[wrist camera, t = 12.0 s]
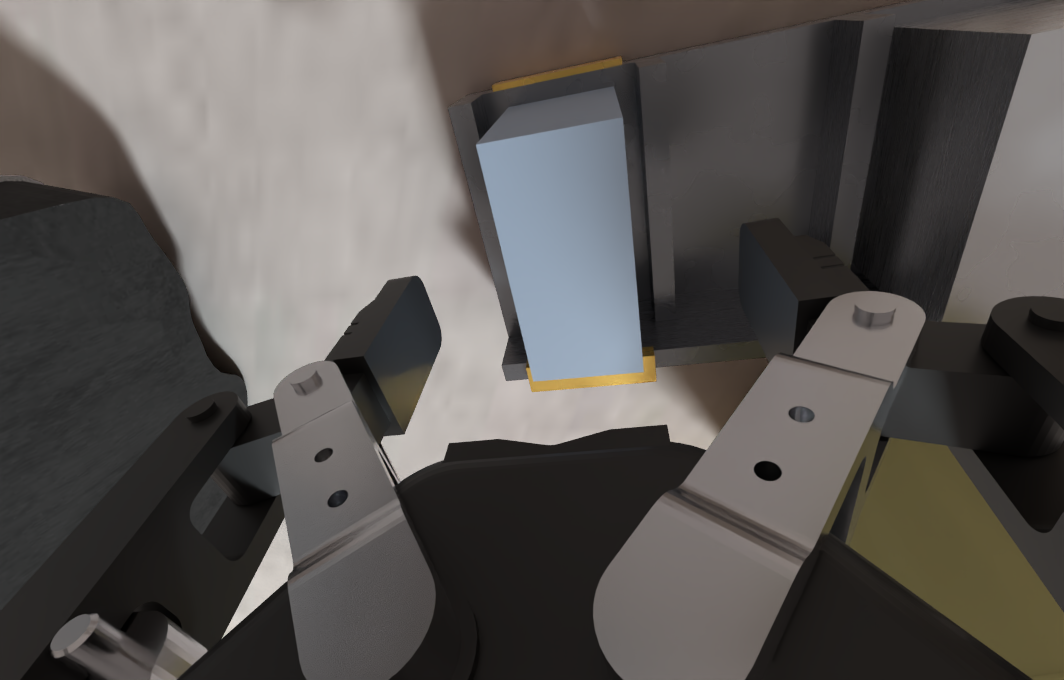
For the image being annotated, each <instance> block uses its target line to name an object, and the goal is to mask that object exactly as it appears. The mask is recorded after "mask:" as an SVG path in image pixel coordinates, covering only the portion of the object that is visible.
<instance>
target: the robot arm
mask: <svg viewBox="0 0 1064 680" xmlns="http://www.w3.org/2000/svg"><path fill="white" fill-rule="evenodd" d="M738 288H739V297H740V302H741V306H742V309H743V311H744V313H745V315H746V317H747V319H748V321H749V323H750V325H751V327H752V329H753V331H754V333H755V335H756V337H757V339H758V341H759V343H760V345H761V347H762V349H763V351H764V353H765V355H766V357H767V359H768V361H769V364H768V366H767V367H766V368H765V370H764V371H763V372H762V374H761V375H760V377H759V378H758V379H757V381H756V382H755V384H754V385H753V386H752V388H751V389H750V391H749V392H748V393H747V395H746V396H745V398H744V399H743V400H742V402H741V403H740V404H739V406H738V407H737V409H736V410H735V411H734V413H733V414H732V416H731V417H730V418H729V420H728V421H727V423H726V424H725V425H724V427H723V428H722V429H721V431H720V432H719V434H718V435H717V436H716V438H715V439H714V441H713V442H712V443H711V445H710V446H709V448H708V449H707V450H704V449H701V448H698V447H695V446H691V445H686V444H682V443H675V442H670V438H669V433H668V428H667V425H657V426H646V427H634V428H622V429H611V430H606V431H603V432H599V433H596V434H592V435H589V436H585V437H582V438H578V439H575V440H571V441H568V442H564V443H561V444H557V445H541V444H533V443H526V442H518V441H510V440H502V439H494V440H483V441H471V442H459V443H449V445H448V449H447V452H446V455H445V458H444V460H443V461H440V462H437V463H435V464H432V465H430V466H427V467H425V468H423V469H421V470H419V471H417V472H415V473H414V474H412V475H410V476H409V477H407V478H405V479H404V480H403V481H400V479H399V477H398V475H397V473H396V471H395V469H394V467H393V465H392V463H391V461H390V459H389V457H388V455H387V453H386V451H385V449H384V447H383V446H382V444H381V441H382V438H383V436H391V435H402V434H405V431H406V429H407V427H408V424H409V422H410V419H411V417H412V415H413V412H414V410H415V407H416V405H417V403H418V400H419V398H420V395H421V393H422V390H423V388H424V386H425V383H426V381H427V378H428V376H429V374H430V371H431V369H432V366H433V364H434V362H435V359H436V357H437V354H438V352H439V350H440V347H441V341H442V337H441V329H440V325H439V323H438V320H437V317H436V315H435V312H434V310H433V307H432V305H431V302H430V300H429V297H428V294H427V292H426V289H425V287H424V284H423V282H422V281H421V279H420V278H419V277H418V276H410V277H404V278H398V279H392V280H388V281H387V283H386V284H385V285H384V287H383V288H382V290H381V291H380V293H379V294H378V296H377V297H376V298H375V300H374V301H372V302H371V303H370V304H369V305H367V306H366V307H365V308H363V309H362V310H361V311H360V312H359V313H358V314H357V316H356V317H355V318H354V320H353V321H352V323H351V326H349V327H348V328H347V330H346V331H345V332H344V335H343V336H342V337H341V338H340V339H339V341H338V342H337V344H336V345H335V346H334V348H333V349H332V351H331V352H330V353H329V355H328V356H327V358H326V359H325V360H324V361H318V362H314V363H311V364H308V365H305V366H303V367H301V368H299V369H297V370H295V371H293V372H292V373H290V374H289V375H288V376H286V377H285V378H284V379H283V380H282V381H281V382H280V383H279V384H278V385H277V387H276V389H275V390H274V398H273V399H270V400H267V401H263V402H260V403H257V404H254V405H251V406H248V407H246V406H245V405H244V404H243V402H242V401H241V400H240V398H239V397H238V395H237V394H236V393H234V392H231V391H225V392H219V393H215V394H212V395H209V396H207V397H205V398H203V399H201V400H199V401H197V402H195V403H193V404H192V405H190V406H189V407H188V408H186V409H185V410H184V411H182V412H181V413H180V414H179V415H178V416H177V417H176V418H175V419H174V420H173V421H172V422H171V423H170V425H169V426H168V427H167V428H166V429H165V430H164V431H163V432H162V433H161V434H160V436H159V437H158V438H157V439H156V440H155V441H154V442H153V443H152V444H151V445H150V447H149V448H148V449H147V450H146V451H145V452H144V453H143V454H142V455H141V456H140V458H139V459H138V460H137V461H136V462H135V463H134V464H133V465H132V466H131V468H130V469H129V470H128V471H127V472H126V473H125V474H124V475H123V476H122V477H121V479H120V480H119V481H118V482H117V483H116V484H115V485H114V486H113V487H112V488H111V490H110V491H109V492H108V493H107V494H106V495H105V496H104V497H103V498H102V499H101V501H100V502H99V503H98V504H97V505H96V506H95V507H94V508H93V509H92V510H91V512H90V513H89V514H88V515H87V516H86V517H85V518H84V519H83V520H82V521H81V523H80V524H79V525H78V526H77V527H76V528H75V529H74V530H73V531H72V532H71V534H70V535H69V536H68V537H67V538H66V539H65V540H64V541H63V542H62V543H61V545H60V546H59V547H58V548H57V549H56V550H55V551H54V552H53V553H52V555H51V556H50V557H49V558H48V559H47V560H46V561H45V562H44V563H43V564H42V566H41V567H40V568H39V569H38V570H37V571H36V572H35V573H34V574H33V575H32V577H31V578H30V579H29V580H28V581H27V582H26V583H25V584H24V585H23V586H22V588H21V589H20V590H19V591H18V592H17V593H16V594H15V595H14V596H13V597H12V599H11V600H10V601H9V602H8V603H7V604H6V605H5V606H4V607H3V608H2V610H1V611H0V680H1033V679H1031V678H1030V677H1029V676H1027V675H1026V674H1025V673H1023V672H1022V671H1020V670H1019V669H1018V668H1016V667H1015V666H1014V665H1012V664H1011V663H1009V662H1008V661H1007V660H1005V659H1004V658H1003V657H1001V656H1000V655H998V654H997V653H996V652H994V651H993V650H991V649H990V648H989V647H987V646H986V645H985V644H983V643H982V642H980V641H979V640H978V639H976V638H975V637H974V636H972V635H971V634H969V633H968V632H967V631H965V630H964V629H963V628H961V627H960V626H958V625H957V624H956V623H954V622H953V621H951V620H950V619H949V618H947V617H946V616H945V615H943V614H942V613H940V612H939V611H938V610H936V609H935V608H934V607H932V606H931V605H929V604H928V603H927V602H925V601H924V600H923V599H921V598H920V597H918V596H917V595H916V594H914V593H913V592H912V591H910V590H909V589H907V588H906V587H905V586H903V585H902V584H900V583H899V582H898V581H896V580H895V579H894V578H892V577H891V576H889V575H888V574H887V573H885V572H884V571H883V570H881V569H880V568H878V567H877V566H876V565H874V564H873V563H872V562H870V561H869V560H867V559H866V558H865V557H863V556H862V555H861V554H859V553H858V552H856V551H855V550H854V549H852V548H851V547H850V543H851V540H852V537H853V534H854V531H855V528H856V525H857V522H858V519H859V517H860V514H861V511H862V509H863V506H864V504H865V501H866V499H867V497H868V494H869V492H870V490H871V487H872V485H873V482H874V480H875V478H876V475H877V473H878V471H879V468H880V466H881V463H882V461H883V459H884V456H885V454H886V451H887V449H888V447H889V444H890V442H891V439H892V438H897V439H904V440H911V441H918V442H925V443H932V444H939V445H946V446H948V448H949V450H950V451H951V453H952V454H953V455H954V457H955V458H956V460H957V461H958V463H959V464H960V465H961V467H962V468H963V470H964V471H965V473H966V474H967V475H968V477H969V478H970V480H971V481H972V483H973V484H974V485H975V487H976V488H977V490H978V491H979V492H980V494H981V495H982V497H983V498H984V500H985V501H986V502H987V504H988V505H989V507H990V508H991V510H992V511H993V512H994V514H995V515H996V517H997V518H998V520H999V521H1000V522H1001V524H1002V525H1003V527H1004V528H1005V530H1006V531H1007V532H1008V534H1009V535H1010V537H1011V538H1012V540H1013V541H1014V542H1015V544H1016V545H1017V547H1018V548H1019V550H1020V551H1021V552H1022V554H1023V555H1024V557H1025V558H1026V560H1027V561H1028V562H1029V564H1030V565H1031V567H1032V568H1033V570H1034V571H1035V572H1036V574H1037V575H1038V577H1039V578H1040V580H1041V581H1042V582H1043V584H1044V585H1045V587H1046V588H1047V590H1048V591H1049V592H1050V594H1051V595H1052V597H1053V598H1054V600H1055V601H1056V602H1057V604H1058V605H1059V607H1060V608H1061V610H1062V611H1063V612H1064V298H1057V297H1047V296H1023V297H1016V298H1011V299H1007V300H1004V301H1002V302H1000V303H998V304H996V305H995V306H994V307H993V308H992V311H991V314H990V316H989V319H988V322H987V324H976V323H956V322H939V321H930V320H925V319H926V316H925V312H924V311H923V309H922V308H921V307H920V306H919V305H917V304H916V303H915V302H913V301H911V300H909V299H907V298H904V297H902V296H898V295H895V294H891V293H885V292H877V291H870V290H869V289H868V288H867V287H866V286H865V285H864V284H863V283H862V282H861V280H860V279H859V278H858V277H857V276H856V275H855V274H854V273H853V272H852V271H851V270H850V269H849V268H848V267H847V266H844V263H843V262H842V261H841V260H840V259H839V257H838V256H837V257H836V256H835V253H834V252H833V251H832V250H831V249H830V248H829V247H828V246H827V245H826V244H825V243H824V242H821V241H819V240H817V239H814V238H812V237H809V236H807V235H800V236H794V235H793V234H792V233H791V232H790V231H789V230H788V228H787V227H786V226H785V225H784V224H783V223H782V221H781V220H780V219H779V218H772V219H766V220H760V221H753V222H747V223H743V224H742V225H741V228H740V236H739V276H738ZM210 477H211V478H212V479H213V480H214V481H215V483H216V484H217V485H218V486H219V487H220V488H221V489H222V490H223V491H224V493H225V494H226V495H227V497H226V499H225V500H224V502H223V504H222V505H221V507H220V508H219V510H218V511H217V513H216V514H215V516H214V517H213V519H212V520H211V522H210V523H209V525H208V526H207V528H206V529H205V531H204V532H203V534H201V533H200V532H199V531H198V530H197V529H196V528H195V527H194V526H193V525H192V523H191V520H190V508H191V505H192V502H193V500H194V499H195V497H196V496H197V495H198V493H199V492H200V490H201V489H202V488H203V486H204V485H205V483H206V482H207V481H208V479H209V478H210ZM284 517H285V520H286V526H287V531H288V536H289V542H290V547H291V553H292V558H293V571H292V572H291V573H290V574H289V576H288V581H287V582H286V583H284V584H283V585H282V586H281V587H280V588H279V589H278V590H276V591H275V592H274V593H273V594H272V595H271V596H270V597H269V598H267V599H266V600H265V601H264V602H263V603H262V604H261V605H260V606H258V607H257V608H256V609H255V610H254V611H253V612H252V613H250V614H249V615H248V616H247V617H246V618H245V619H244V620H243V621H241V622H240V623H239V624H238V625H237V626H236V627H235V628H233V629H232V630H231V631H230V632H229V633H228V634H227V635H226V636H224V637H223V635H224V633H225V631H226V629H227V627H228V625H229V623H230V621H231V619H232V617H233V616H234V614H235V612H236V610H237V608H238V606H239V604H240V602H241V600H242V598H243V596H244V594H245V592H246V591H247V589H248V587H249V585H250V583H251V581H252V579H253V577H254V575H255V573H256V571H257V569H258V567H259V566H260V564H261V562H262V560H263V558H264V556H265V554H266V552H267V550H268V548H269V546H270V544H271V542H272V541H273V539H274V537H275V535H276V533H277V531H278V529H279V527H280V525H281V523H282V521H283V519H284ZM222 637H223V638H222Z"/></svg>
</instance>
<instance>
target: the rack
mask: <svg viewBox="0 0 1064 680" xmlns="http://www.w3.org/2000/svg"><path fill="white" fill-rule="evenodd" d="M612 86H614V89H615V92H616V96H617V99H618V102H619V106H620V109H621V113H622V116H623V126H624V138H625V150H626V162H627V174H628V186H629V199H630V211H631V223H632V235H633V247H634V259H635V271H636V284H637V296H638V308H639V320H640V332H641V344H642V356H643V369H644V372H639V373H627V374H616V375H604V376H593V377H581V378H569V379H558V380H546V381H535V382H533V378H532V374H531V370H530V366H529V362H528V358H527V354H526V349H525V345H524V341H523V337H522V333H521V329H520V325H519V321H518V316H517V312H516V308H515V304H514V300H513V296H512V292H511V288H510V283H509V279H508V275H507V271H506V267H505V263H504V259H503V255H502V250H501V246H500V242H499V238H498V234H497V230H496V226H495V222H494V217H493V213H492V209H491V205H490V201H489V197H488V193H487V189H486V185H485V180H484V176H483V172H482V168H481V164H480V160H479V156H478V152H477V147H476V144H477V143H478V142H479V141H480V139H481V138H482V137H483V136H484V135H485V134H486V132H487V131H488V130H489V129H490V128H491V127H492V126H493V124H494V123H495V122H496V121H497V120H498V119H499V118H500V116H501V115H502V114H503V113H504V112H505V111H506V109H507V108H508V107H512V106H517V105H522V104H527V103H532V102H537V101H542V100H547V99H552V98H557V97H562V96H567V95H572V94H577V93H582V92H587V91H592V90H597V89H602V88H607V87H612ZM448 111H449V114H450V118H451V122H452V126H453V129H454V133H455V137H456V141H457V145H458V148H459V152H460V156H461V160H462V163H463V167H464V171H465V175H466V178H467V182H468V186H469V190H470V193H471V197H472V201H473V205H474V208H475V212H476V216H477V220H478V223H479V227H480V231H481V235H482V239H483V242H484V246H485V250H486V254H487V257H488V261H489V265H490V269H491V272H492V276H493V280H494V284H495V287H496V291H497V295H498V299H499V302H500V306H501V310H502V314H503V317H504V321H505V325H506V329H507V333H508V336H509V339H508V343H507V347H506V351H505V354H504V358H503V362H502V368H503V372H504V375H505V379H506V381H512V380H523V379H529V382H530V386H531V390H532V392H539V391H550V390H562V389H574V388H586V387H597V386H609V385H621V384H633V383H644V382H656V367H666V366H677V365H688V364H699V363H710V362H721V361H732V360H743V359H754V358H766V355H765V353H764V351H763V349H762V347H761V345H760V343H759V341H758V339H757V337H756V335H755V333H754V331H753V329H752V327H751V325H750V323H749V321H748V319H747V317H746V315H745V313H744V311H743V309H742V306H741V302H740V297H739V288H738V276H739V236H740V228H741V225H742V224H743V223H747V222H753V221H760V220H766V219H772V218H779V219H780V220H781V221H782V223H783V224H784V225H785V226H786V227H787V228H788V230H789V231H790V232H791V233H792V234H793V235H794V236H800V235H807V236H809V237H812V238H814V239H817V240H819V241H821V242H824V243H825V244H826V245H827V246H828V247H829V248H830V249H831V250H832V251H833V252H834V253H835V256H836V257H837V256H838V257H839V259H840V260H841V261H842V262H843V263H844V266H847V267H848V268H849V269H850V270H851V271H852V272H853V273H854V274H855V275H856V276H857V277H858V278H859V279H860V280H861V282H862V283H863V284H864V285H865V286H866V287H867V288H868V289H869V290H870V291H877V292H885V293H891V294H895V295H898V296H902V297H904V298H907V299H909V300H911V301H913V302H915V303H916V304H917V305H919V306H920V307H921V308H922V309H923V311H924V312H925V316H926V319H925V320H930V321H939V322H956V323H976V324H987V322H988V319H989V316H990V314H991V311H992V308H993V307H994V306H995V305H996V304H998V303H1000V302H1002V301H1004V300H1007V299H1011V298H1016V297H1023V296H1047V297H1057V298H1064V0H911V1H906V2H902V3H897V4H892V5H888V6H883V7H878V8H873V9H869V10H864V11H859V12H855V13H850V14H845V15H840V16H836V17H831V18H826V19H822V20H817V21H812V22H808V23H803V24H798V25H793V26H789V27H784V28H779V29H775V30H770V31H765V32H760V33H756V34H751V35H746V36H742V37H737V38H732V39H728V40H723V41H718V42H713V43H709V44H704V45H699V46H695V47H690V48H685V49H680V50H676V51H671V52H666V53H662V54H657V55H652V56H648V57H643V58H638V59H633V60H629V61H624V62H622V58H621V56H618V57H613V58H608V59H604V60H599V61H594V62H590V63H585V64H581V65H576V66H571V67H567V68H562V69H557V70H553V71H548V72H543V73H539V74H534V75H529V76H525V77H520V78H515V79H511V80H506V81H501V82H497V83H495V84H493V85H492V90H488V91H483V92H478V93H473V94H469V95H466V96H465V97H463V98H462V99H460V100H459V101H457V102H456V103H454V104H453V105H451V106H450V107H448Z"/></svg>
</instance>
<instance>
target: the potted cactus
mask: <svg viewBox="0 0 1064 680" xmlns="http://www.w3.org/2000/svg"><path fill="white" fill-rule="evenodd" d="M850 547H851V548H852V549H854V550H855V551H856V552H858V553H859V554H861V555H862V556H863V557H865V558H866V559H867V560H869V561H870V562H872V563H873V564H874V565H876V566H877V567H878V568H880V569H881V570H883V571H884V572H885V573H887V574H888V575H889V576H891V577H892V578H894V579H895V580H896V581H898V582H899V583H900V584H902V585H903V586H905V587H906V588H907V589H909V590H910V591H912V592H913V593H914V594H916V595H917V596H918V597H920V598H921V599H923V600H924V601H925V602H927V603H928V604H929V605H931V606H932V607H934V608H935V609H936V610H938V611H939V612H940V613H942V614H943V615H945V616H946V617H947V618H949V619H950V620H951V621H953V622H954V623H956V624H957V625H958V626H960V627H961V628H963V629H964V630H965V631H967V632H968V633H969V634H971V635H972V636H974V637H975V638H976V639H978V640H979V641H980V642H982V643H983V644H985V645H986V646H987V647H989V648H990V649H991V650H993V651H994V652H996V653H997V654H998V655H1000V656H1001V657H1003V658H1004V659H1005V660H1007V661H1008V662H1009V663H1011V664H1012V665H1014V666H1015V667H1016V668H1018V669H1019V670H1020V671H1022V672H1023V673H1025V674H1026V675H1027V676H1029V677H1030V678H1031V679H1033V680H1064V612H1063V611H1062V610H1061V608H1060V607H1059V605H1058V604H1057V602H1056V601H1055V600H1054V598H1053V597H1052V595H1051V594H1050V592H1049V591H1048V590H1047V588H1046V587H1045V585H1044V584H1043V582H1042V581H1041V580H1040V578H1039V577H1038V575H1037V574H1036V572H1035V571H1034V570H1033V568H1032V567H1031V565H1030V564H1029V562H1028V561H1027V560H1026V558H1025V557H1024V555H1023V554H1022V552H1021V551H1020V550H1019V548H1018V547H1017V545H1016V544H1015V542H1014V541H1013V540H1012V538H1011V537H1010V535H1009V534H1008V532H1007V531H1006V530H1005V528H1004V527H1003V525H1002V524H1001V522H1000V521H999V520H998V518H997V517H996V515H995V514H994V512H993V511H992V510H991V508H990V507H989V505H988V504H987V502H986V501H985V500H984V498H983V497H982V495H981V494H980V492H979V491H978V490H977V488H976V487H975V485H974V484H973V483H972V481H971V480H970V478H969V477H968V475H967V474H966V473H965V471H964V470H963V468H962V467H961V465H960V464H959V463H958V461H957V460H956V458H955V457H954V455H953V454H952V453H951V451H950V450H949V448H948V446H946V445H939V444H932V443H925V442H918V441H911V440H904V439H897V438H892V439H891V442H890V444H889V447H888V449H887V451H886V454H885V456H884V459H883V461H882V463H881V466H880V468H879V471H878V473H877V475H876V478H875V480H874V482H873V485H872V487H871V490H870V492H869V494H868V497H867V499H866V501H865V504H864V506H863V509H862V511H861V514H860V517H859V519H858V522H857V525H856V528H855V531H854V534H853V537H852V540H851V543H850Z"/></svg>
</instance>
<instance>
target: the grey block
mask: <svg viewBox="0 0 1064 680" xmlns="http://www.w3.org/2000/svg"><path fill="white" fill-rule="evenodd" d="M476 147H477V152H478V156H479V160H480V164H481V168H482V172H483V176H484V180H485V185H486V189H487V193H488V197H489V201H490V205H491V209H492V213H493V217H494V222H495V226H496V230H497V234H498V238H499V242H500V246H501V250H502V255H503V259H504V263H505V267H506V271H507V275H508V279H509V283H510V288H511V292H512V296H513V300H514V304H515V308H516V312H517V316H518V321H519V325H520V329H521V333H522V337H523V341H524V345H525V349H526V354H527V358H528V362H529V366H530V370H531V374H532V378H533V382H535V381H546V380H558V379H569V378H581V377H593V376H604V375H616V374H627V373H639V372H644V369H643V356H642V344H641V332H640V320H639V308H638V296H637V284H636V271H635V259H634V247H633V235H632V223H631V211H630V199H629V186H628V174H627V162H626V150H625V138H624V126H623V116H622V113H621V109H620V106H619V102H618V99H617V96H616V92H615V89H614V86H612V87H607V88H602V89H597V90H592V91H587V92H582V93H577V94H572V95H567V96H562V97H557V98H552V99H547V100H542V101H537V102H532V103H527V104H522V105H517V106H512V107H508V108H507V109H506V111H505V112H504V113H503V114H502V115H501V116H500V118H499V119H498V120H497V121H496V122H495V123H494V124H493V126H492V127H491V128H490V129H489V130H488V131H487V132H486V134H485V135H484V136H483V137H482V138H481V139H480V141H479V142H478V143H477V144H476Z"/></svg>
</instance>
